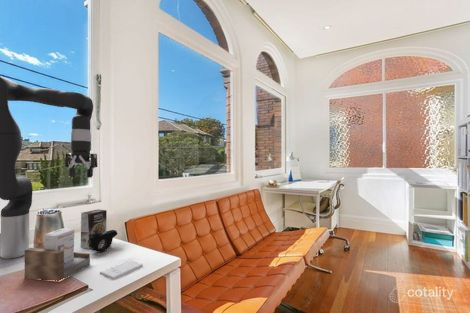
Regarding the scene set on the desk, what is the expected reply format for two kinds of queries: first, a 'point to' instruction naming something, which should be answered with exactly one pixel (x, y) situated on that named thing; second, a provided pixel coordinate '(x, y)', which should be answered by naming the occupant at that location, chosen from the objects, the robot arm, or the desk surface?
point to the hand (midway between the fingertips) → (81, 177)
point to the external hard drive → (121, 269)
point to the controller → (97, 237)
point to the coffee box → (92, 225)
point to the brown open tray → (52, 264)
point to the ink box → (61, 242)
